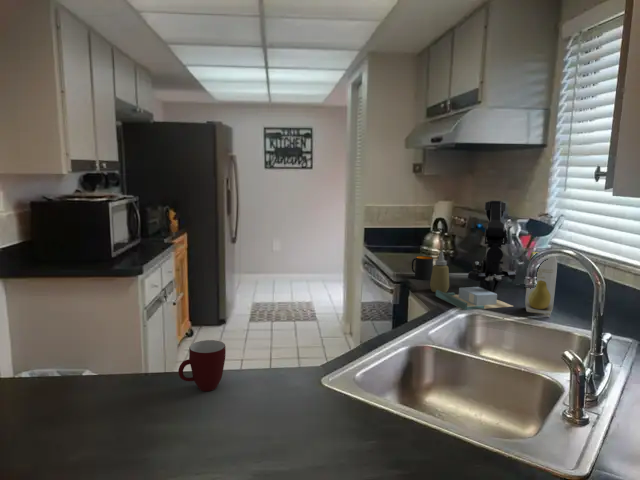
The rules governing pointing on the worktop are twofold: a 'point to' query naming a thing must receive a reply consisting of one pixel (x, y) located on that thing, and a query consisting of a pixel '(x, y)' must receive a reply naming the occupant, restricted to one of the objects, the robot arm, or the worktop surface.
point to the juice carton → (542, 289)
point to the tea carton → (477, 296)
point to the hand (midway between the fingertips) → (490, 296)
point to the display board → (465, 304)
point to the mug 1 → (205, 364)
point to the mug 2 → (423, 267)
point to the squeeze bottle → (440, 275)
